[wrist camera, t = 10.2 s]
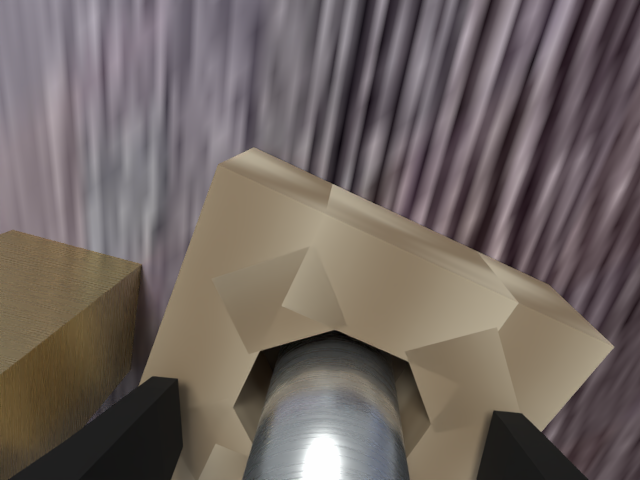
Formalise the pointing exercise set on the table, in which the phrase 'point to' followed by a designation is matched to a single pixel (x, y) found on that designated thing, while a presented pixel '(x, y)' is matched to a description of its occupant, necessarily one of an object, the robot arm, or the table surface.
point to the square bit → (58, 341)
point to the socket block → (356, 320)
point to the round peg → (329, 414)
